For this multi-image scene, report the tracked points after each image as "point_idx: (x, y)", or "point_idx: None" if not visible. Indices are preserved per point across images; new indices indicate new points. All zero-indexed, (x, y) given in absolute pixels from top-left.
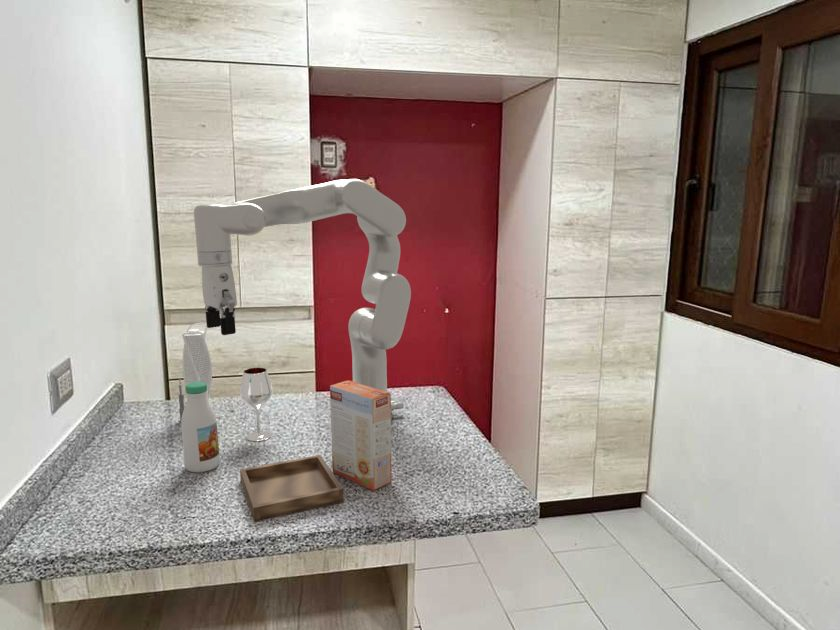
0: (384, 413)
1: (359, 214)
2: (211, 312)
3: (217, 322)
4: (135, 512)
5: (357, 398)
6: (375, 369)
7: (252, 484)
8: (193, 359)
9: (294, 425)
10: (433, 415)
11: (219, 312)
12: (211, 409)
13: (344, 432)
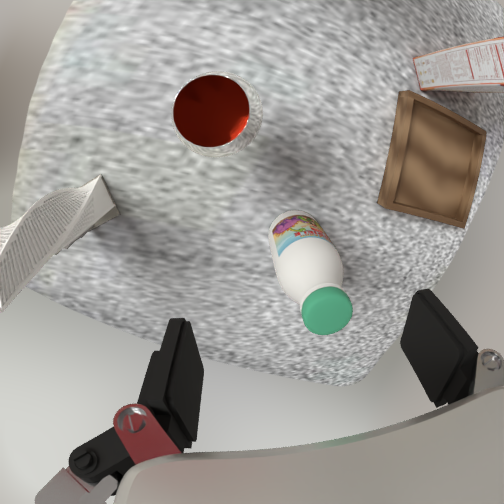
0: None
1: None
2: (188, 428)
3: (188, 348)
4: (361, 316)
5: None
6: None
7: (402, 197)
8: (40, 257)
9: (208, 47)
10: None
11: (166, 386)
12: (333, 259)
13: (485, 89)
